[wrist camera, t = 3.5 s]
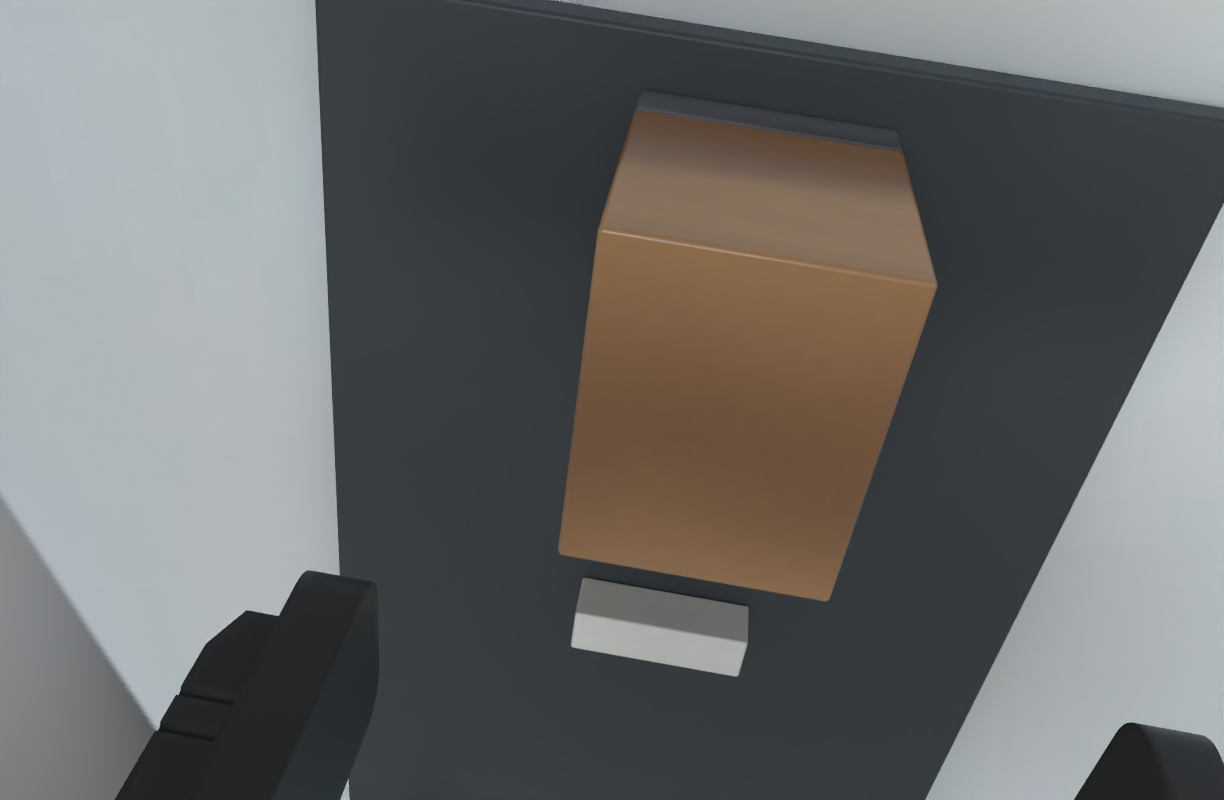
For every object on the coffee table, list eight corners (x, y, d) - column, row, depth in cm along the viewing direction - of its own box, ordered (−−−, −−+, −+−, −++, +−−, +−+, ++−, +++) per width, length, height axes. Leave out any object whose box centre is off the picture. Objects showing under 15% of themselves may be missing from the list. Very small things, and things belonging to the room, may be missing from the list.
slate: (328, -38, 19) (312, -25, 18) (1246, 110, 18) (1264, 127, 17) (356, 778, 33) (348, 802, 32) (874, 874, 32) (876, 899, 31)
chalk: (582, 576, 25) (575, 613, 24) (749, 605, 25) (748, 643, 24) (578, 611, 26) (570, 648, 25) (739, 639, 26) (738, 678, 25)
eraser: (640, 87, 18) (597, 226, 14) (899, 128, 18) (941, 283, 14) (601, 371, 22) (556, 556, 17) (817, 408, 22) (829, 604, 17)
